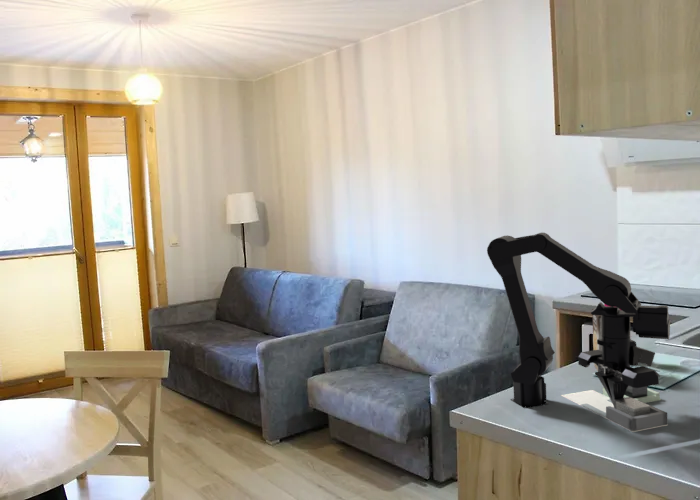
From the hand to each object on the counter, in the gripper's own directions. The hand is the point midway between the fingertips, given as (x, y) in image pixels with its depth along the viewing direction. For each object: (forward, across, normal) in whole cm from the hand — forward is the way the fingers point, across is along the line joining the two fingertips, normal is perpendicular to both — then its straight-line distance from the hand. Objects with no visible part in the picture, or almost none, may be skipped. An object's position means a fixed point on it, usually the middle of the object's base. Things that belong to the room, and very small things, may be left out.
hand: (616, 406), depth 136 cm
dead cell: (+1, -4, 0) cm, 5 cm away
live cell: (+1, +6, -9) cm, 11 cm away
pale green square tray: (+2, +6, -9) cm, 11 cm away
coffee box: (+2, +25, -18) cm, 31 cm away
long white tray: (+2, +2, 0) cm, 3 cm away
